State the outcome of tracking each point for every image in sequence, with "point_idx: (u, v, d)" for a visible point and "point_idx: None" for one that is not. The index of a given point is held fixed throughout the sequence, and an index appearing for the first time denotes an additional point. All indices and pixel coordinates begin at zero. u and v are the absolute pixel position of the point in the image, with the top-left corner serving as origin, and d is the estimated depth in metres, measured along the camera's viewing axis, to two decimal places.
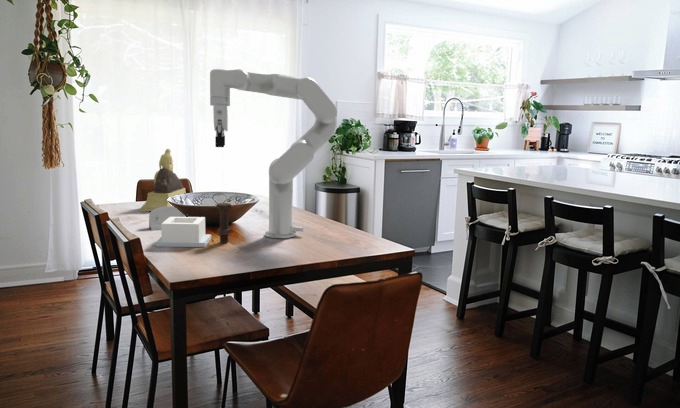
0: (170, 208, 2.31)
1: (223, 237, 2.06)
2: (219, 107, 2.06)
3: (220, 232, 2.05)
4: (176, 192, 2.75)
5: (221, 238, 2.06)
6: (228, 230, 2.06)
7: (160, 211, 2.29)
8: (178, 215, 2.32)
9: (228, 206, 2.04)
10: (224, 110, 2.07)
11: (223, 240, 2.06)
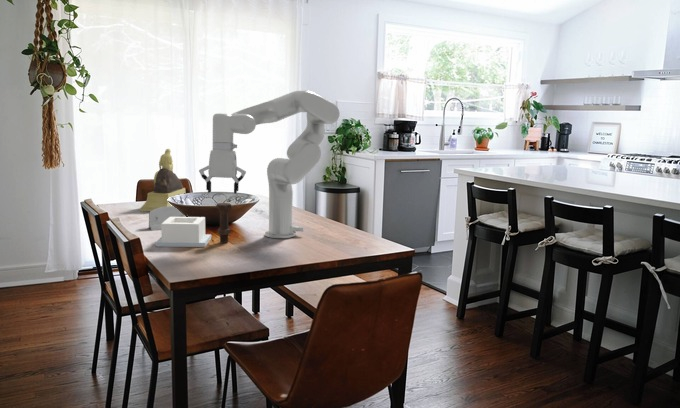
0: (170, 208, 2.31)
1: (223, 237, 2.06)
2: (235, 153, 2.02)
3: (220, 232, 2.05)
4: (176, 192, 2.75)
5: (221, 238, 2.06)
6: (228, 230, 2.06)
7: (160, 211, 2.29)
8: (178, 215, 2.32)
9: (228, 206, 2.04)
10: None
11: (223, 240, 2.06)
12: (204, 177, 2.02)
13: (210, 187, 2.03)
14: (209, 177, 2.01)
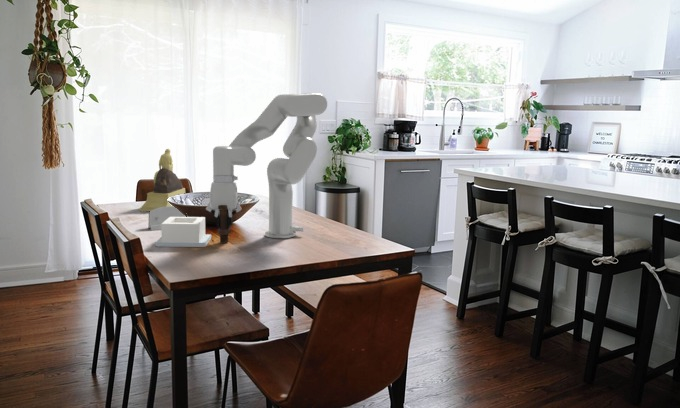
0: (169, 208, 2.31)
1: (223, 237, 2.06)
2: (235, 185, 2.04)
3: (220, 232, 2.05)
4: (176, 192, 2.75)
5: (221, 238, 2.06)
6: (228, 230, 2.06)
7: (159, 211, 2.29)
8: (177, 215, 2.32)
9: None
10: None
11: (223, 240, 2.06)
12: (213, 212, 2.05)
13: (219, 222, 2.06)
14: (216, 212, 2.04)
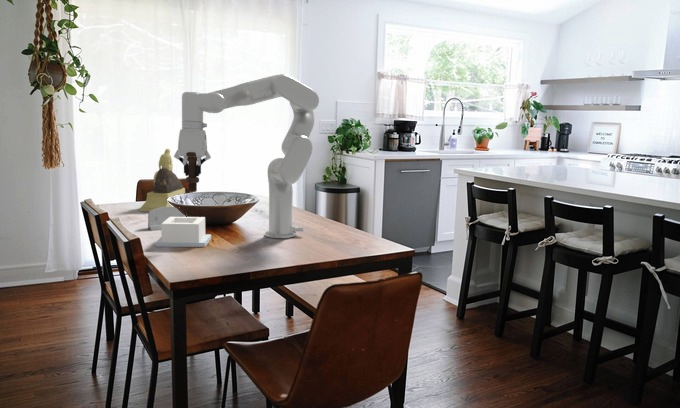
0: (169, 208, 2.31)
1: (191, 186, 2.01)
2: (204, 132, 2.00)
3: (188, 180, 2.00)
4: (176, 192, 2.75)
5: (189, 187, 2.02)
6: (196, 179, 2.01)
7: (159, 211, 2.29)
8: (177, 215, 2.32)
9: None
10: None
11: (191, 189, 2.02)
12: (181, 160, 2.00)
13: None
14: (184, 159, 2.00)
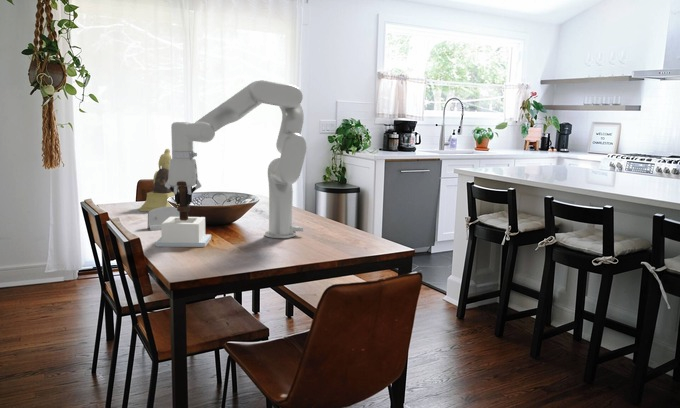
0: (168, 208, 2.31)
1: (182, 214, 2.03)
2: (195, 161, 2.02)
3: (179, 209, 2.02)
4: None
5: (180, 215, 2.03)
6: (187, 207, 2.03)
7: (159, 211, 2.28)
8: (176, 215, 2.32)
9: None
10: None
11: (182, 217, 2.03)
12: (172, 189, 2.02)
13: None
14: (175, 188, 2.01)
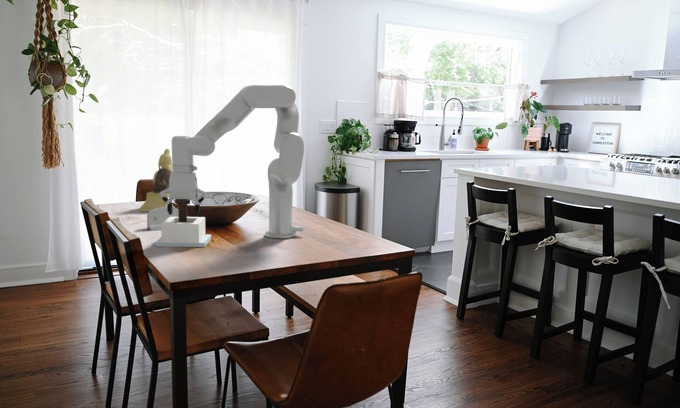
0: None
1: None
2: (195, 175, 2.02)
3: None
4: None
5: None
6: None
7: (158, 211, 2.28)
8: (176, 215, 2.32)
9: (186, 201, 2.02)
10: None
11: None
12: (165, 199, 2.02)
13: (171, 209, 2.04)
14: (170, 199, 2.02)
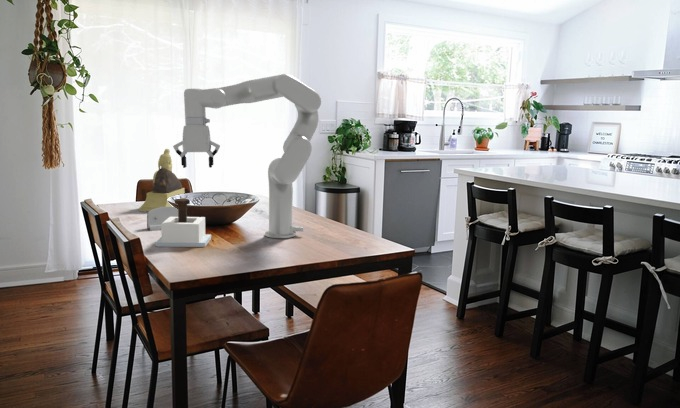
0: (168, 208, 2.31)
1: None
2: (208, 127, 2.05)
3: None
4: (175, 192, 2.75)
5: None
6: None
7: (158, 211, 2.28)
8: (176, 215, 2.32)
9: (186, 201, 2.02)
10: None
11: None
12: (179, 152, 2.04)
13: (185, 162, 2.06)
14: (183, 152, 2.04)
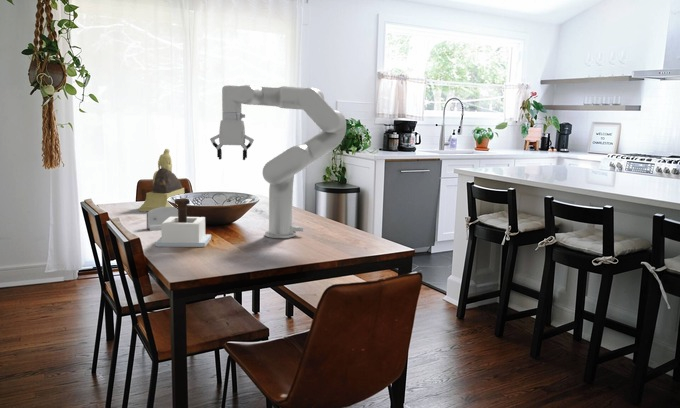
0: (167, 208, 2.30)
1: None
2: (243, 122, 2.18)
3: None
4: (175, 192, 2.75)
5: None
6: None
7: (158, 211, 2.28)
8: (175, 215, 2.32)
9: (186, 201, 2.02)
10: None
11: None
12: (215, 145, 2.18)
13: (221, 154, 2.19)
14: (220, 145, 2.18)
